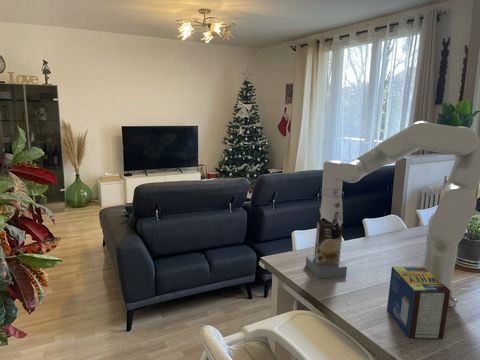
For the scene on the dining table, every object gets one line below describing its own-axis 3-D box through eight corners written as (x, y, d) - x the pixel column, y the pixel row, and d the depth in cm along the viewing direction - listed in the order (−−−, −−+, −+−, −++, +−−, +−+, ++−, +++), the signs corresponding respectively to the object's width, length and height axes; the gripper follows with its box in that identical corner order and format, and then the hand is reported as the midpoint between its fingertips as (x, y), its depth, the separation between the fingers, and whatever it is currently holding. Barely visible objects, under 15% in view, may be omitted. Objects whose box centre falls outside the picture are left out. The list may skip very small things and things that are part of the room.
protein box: (417, 309, 116) (423, 266, 113) (443, 339, 101) (451, 290, 97) (385, 308, 116) (391, 265, 113) (407, 338, 101) (414, 289, 97)
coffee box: (316, 264, 138) (319, 225, 135) (313, 257, 145) (316, 220, 141) (339, 265, 138) (343, 226, 134) (336, 258, 144) (339, 221, 141)
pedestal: (346, 276, 138) (346, 266, 137) (317, 278, 135) (318, 269, 134) (331, 263, 149) (332, 254, 148) (305, 265, 146) (306, 256, 146)
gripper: (352, 197, 128) (349, 241, 131) (330, 187, 144) (328, 226, 148) (333, 198, 126) (330, 242, 130) (313, 187, 143) (311, 227, 146)
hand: (329, 234), depth 139 cm, fingers open, 9 cm apart
